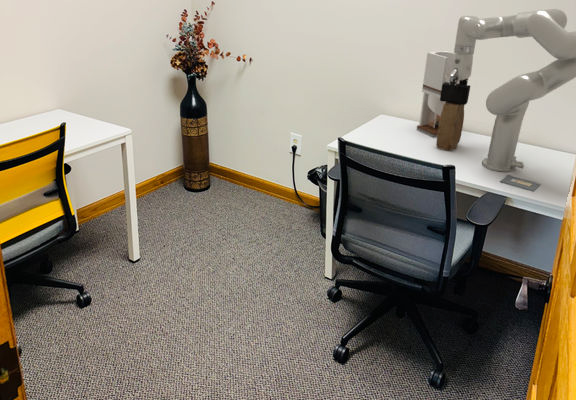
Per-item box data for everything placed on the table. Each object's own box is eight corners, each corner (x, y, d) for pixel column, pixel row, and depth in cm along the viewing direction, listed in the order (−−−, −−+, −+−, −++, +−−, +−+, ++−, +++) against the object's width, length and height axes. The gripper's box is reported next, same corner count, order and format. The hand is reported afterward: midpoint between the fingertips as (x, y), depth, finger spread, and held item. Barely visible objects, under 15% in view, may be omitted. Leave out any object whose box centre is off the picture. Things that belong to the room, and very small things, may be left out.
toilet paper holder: (416, 129, 250) (427, 52, 235) (434, 126, 255) (446, 50, 239) (433, 137, 241) (445, 57, 226) (451, 134, 246) (465, 55, 230)
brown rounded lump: (449, 152, 225) (457, 105, 216) (433, 148, 229) (440, 101, 221) (461, 146, 232) (469, 100, 224) (445, 141, 237) (453, 96, 228)
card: (540, 184, 198) (540, 183, 198) (533, 191, 193) (533, 190, 193) (507, 175, 205) (507, 174, 205) (500, 182, 200) (500, 180, 199)
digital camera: (468, 101, 222) (471, 84, 219) (465, 105, 218) (468, 87, 214) (442, 97, 226) (445, 81, 223) (439, 100, 222) (442, 83, 219)
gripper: (464, 53, 205) (457, 98, 212) (482, 47, 217) (474, 90, 224) (445, 51, 209) (439, 94, 216) (464, 45, 221) (457, 87, 229)
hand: (457, 92), depth 220 cm, fingers open, 9 cm apart
